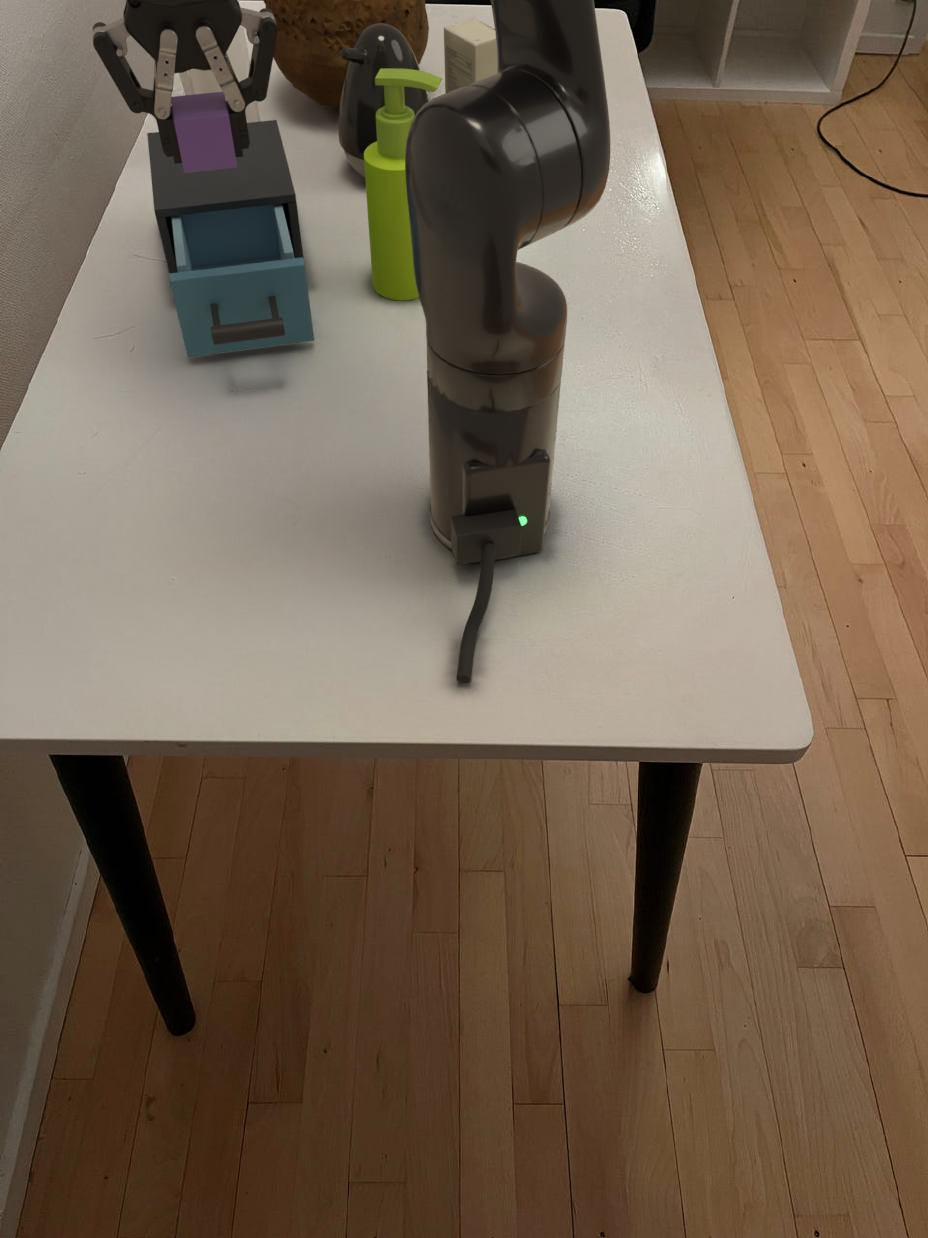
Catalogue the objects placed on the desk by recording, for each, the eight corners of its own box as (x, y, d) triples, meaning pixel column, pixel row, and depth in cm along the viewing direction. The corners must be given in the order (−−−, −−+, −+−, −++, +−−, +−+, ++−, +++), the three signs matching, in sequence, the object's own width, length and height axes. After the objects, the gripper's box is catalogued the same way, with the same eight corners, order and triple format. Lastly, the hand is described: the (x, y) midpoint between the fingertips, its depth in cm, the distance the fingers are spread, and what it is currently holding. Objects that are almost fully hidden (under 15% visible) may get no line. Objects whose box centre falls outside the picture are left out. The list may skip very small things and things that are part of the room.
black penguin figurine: (321, 172, 117) (306, 25, 105) (388, 139, 122) (381, -5, 110) (385, 205, 113) (377, 56, 101) (452, 169, 118) (452, 23, 106)
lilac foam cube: (237, 167, 85) (228, 115, 82) (184, 173, 84) (173, 120, 81) (232, 142, 88) (223, 90, 84) (180, 148, 87) (170, 96, 84)
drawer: (322, 373, 93) (313, 297, 87) (191, 392, 91) (172, 315, 85) (295, 260, 105) (285, 185, 99) (178, 274, 103) (161, 199, 97)
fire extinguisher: (171, 148, 120) (116, -108, 101) (277, 137, 122) (243, -117, 103) (174, 177, 116) (118, -84, 97) (284, 165, 118) (250, -93, 99)
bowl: (382, 53, 137) (375, -79, 125) (458, 111, 127) (458, -27, 115) (248, 87, 130) (228, -49, 119) (317, 151, 120) (302, 9, 109)
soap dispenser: (435, 305, 101) (432, 92, 86) (366, 296, 102) (349, 84, 87) (448, 271, 105) (447, 61, 90) (381, 263, 106) (368, 53, 90)
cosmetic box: (506, 149, 121) (510, 36, 111) (475, 160, 119) (476, 45, 110) (474, 127, 124) (475, 15, 115) (443, 137, 122) (442, 24, 113)
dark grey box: (307, 286, 103) (295, 193, 96) (176, 303, 101) (154, 209, 94) (288, 209, 112) (276, 119, 105) (167, 223, 110) (147, 132, 103)
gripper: (56, -60, 69) (120, 189, 82) (274, -76, 71) (302, 168, 85) (57, -99, 74) (117, 142, 87) (261, -113, 76) (290, 124, 89)
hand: (208, 154), depth 86 cm, fingers closed on lilac foam cube, 4 cm apart
